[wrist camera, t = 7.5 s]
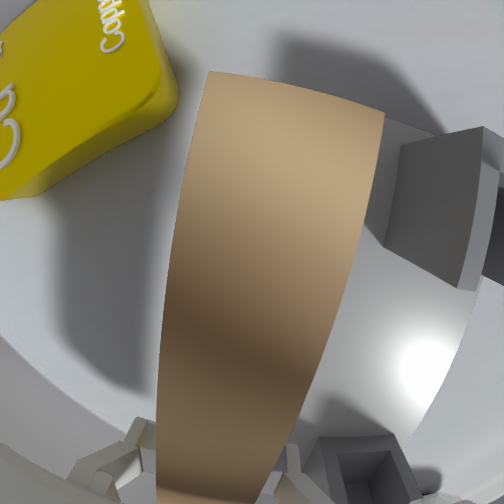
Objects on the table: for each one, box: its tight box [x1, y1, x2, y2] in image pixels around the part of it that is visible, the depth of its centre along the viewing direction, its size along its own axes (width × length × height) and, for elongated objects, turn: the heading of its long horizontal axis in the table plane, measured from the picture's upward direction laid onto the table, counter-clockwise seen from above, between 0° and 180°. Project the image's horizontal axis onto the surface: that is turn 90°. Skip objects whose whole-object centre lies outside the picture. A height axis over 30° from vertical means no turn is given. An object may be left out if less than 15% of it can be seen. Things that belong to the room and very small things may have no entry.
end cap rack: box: [285, 117, 504, 504], centre depth 16 cm, size 32×12×9 cm, turn 171°
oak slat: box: [156, 71, 385, 504], centre depth 10 cm, size 24×4×5 cm, turn 168°
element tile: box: [0, 0, 179, 201], centre depth 14 cm, size 15×15×5 cm
